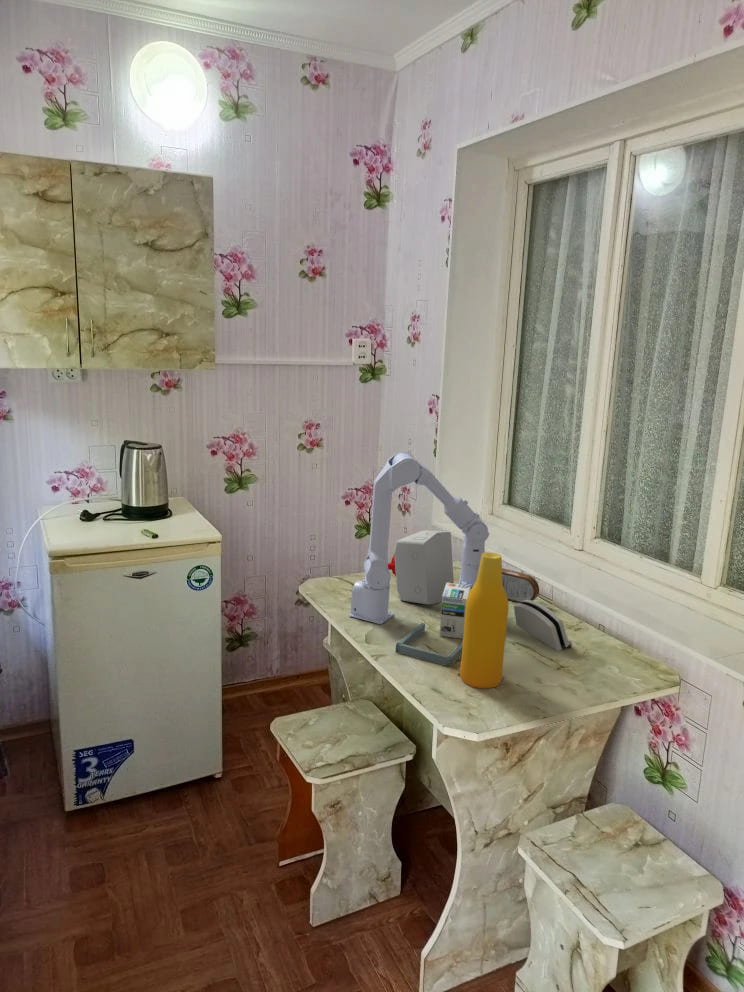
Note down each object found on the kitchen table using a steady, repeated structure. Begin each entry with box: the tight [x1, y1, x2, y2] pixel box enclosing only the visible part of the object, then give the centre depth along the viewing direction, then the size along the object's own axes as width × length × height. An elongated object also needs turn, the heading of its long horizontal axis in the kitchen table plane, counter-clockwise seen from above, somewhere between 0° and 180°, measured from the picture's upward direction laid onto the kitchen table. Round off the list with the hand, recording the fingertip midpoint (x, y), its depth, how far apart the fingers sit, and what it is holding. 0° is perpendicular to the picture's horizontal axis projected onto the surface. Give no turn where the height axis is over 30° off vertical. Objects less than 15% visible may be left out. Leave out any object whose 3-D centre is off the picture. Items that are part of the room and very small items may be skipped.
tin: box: [502, 567, 540, 604], centre depth 216 cm, size 15×3×8 cm, turn 58°
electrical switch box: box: [388, 529, 455, 605], centre depth 215 cm, size 14×15×20 cm
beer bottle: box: [459, 551, 509, 689], centre depth 165 cm, size 9×9×29 cm
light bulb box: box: [439, 582, 471, 640], centre depth 193 cm, size 11×7×11 cm, turn 168°
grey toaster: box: [513, 600, 574, 652], centre depth 192 cm, size 17×5×10 cm, turn 27°
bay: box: [395, 622, 463, 667], centre depth 183 cm, size 14×15×2 cm
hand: (468, 611), depth 203 cm, fingers closed
